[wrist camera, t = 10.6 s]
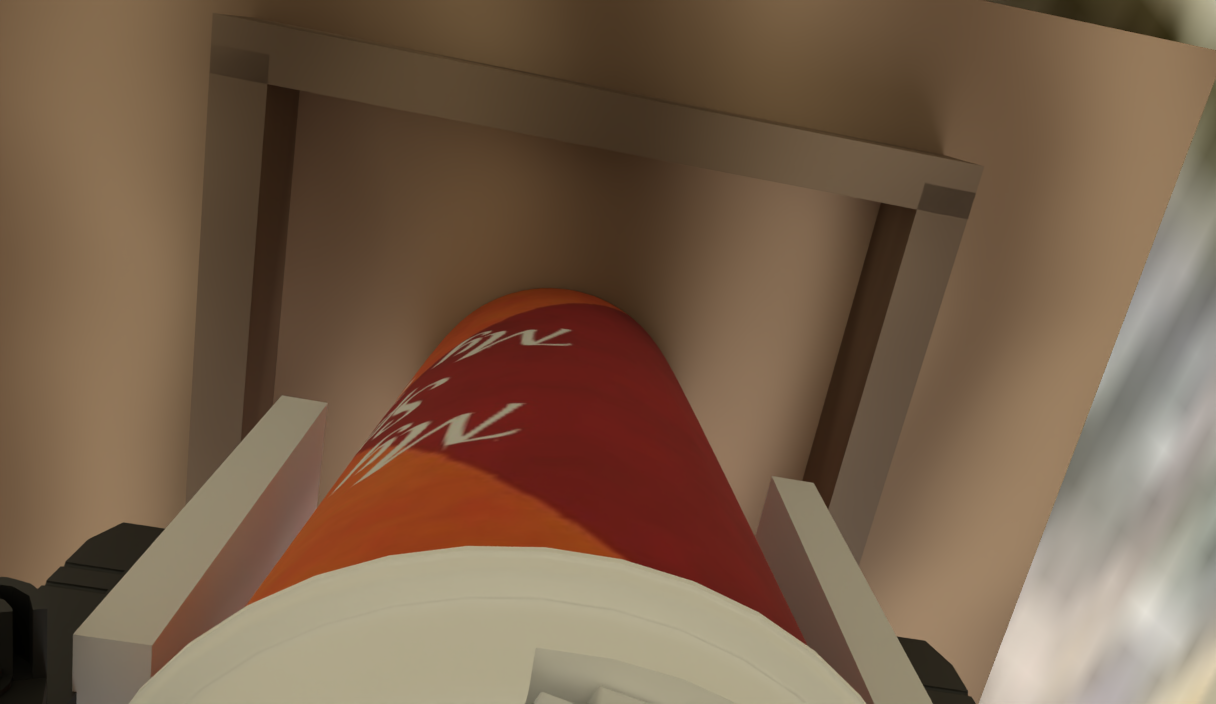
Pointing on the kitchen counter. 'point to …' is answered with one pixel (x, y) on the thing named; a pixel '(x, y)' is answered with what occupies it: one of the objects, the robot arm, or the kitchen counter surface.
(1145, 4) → the kitchen counter surface
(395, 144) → the assembly base
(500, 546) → the paper cup
